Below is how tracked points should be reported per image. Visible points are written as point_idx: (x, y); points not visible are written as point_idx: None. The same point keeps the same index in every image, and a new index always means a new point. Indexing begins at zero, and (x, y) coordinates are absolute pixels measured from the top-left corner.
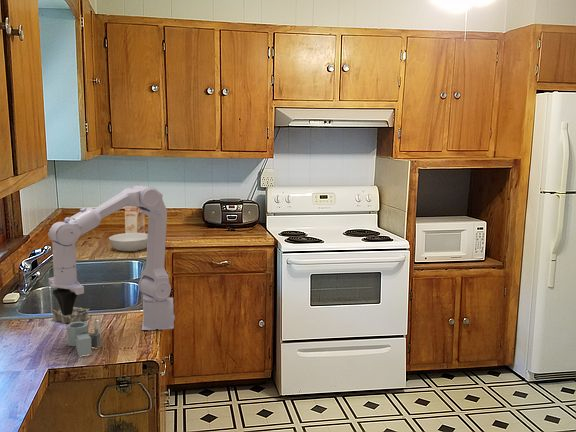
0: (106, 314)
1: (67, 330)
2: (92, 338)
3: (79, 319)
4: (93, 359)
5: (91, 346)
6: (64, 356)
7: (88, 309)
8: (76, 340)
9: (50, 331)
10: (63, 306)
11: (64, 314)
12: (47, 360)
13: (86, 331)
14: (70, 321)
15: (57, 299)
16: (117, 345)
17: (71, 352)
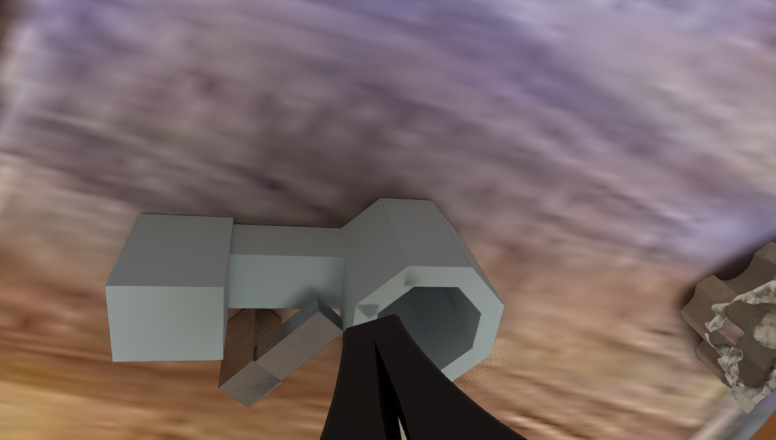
0: (687, 435)
1: (428, 250)
2: (245, 351)
3: (699, 331)
4: (67, 275)
5: (253, 308)
6: (216, 135)
7: (748, 402)
8: (312, 259)
9: (699, 158)
10: (331, 410)
11: (345, 335)
12: (200, 12)
13: None
14: (721, 285)
15: (479, 424)
16: (231, 414)
17: (265, 189)
